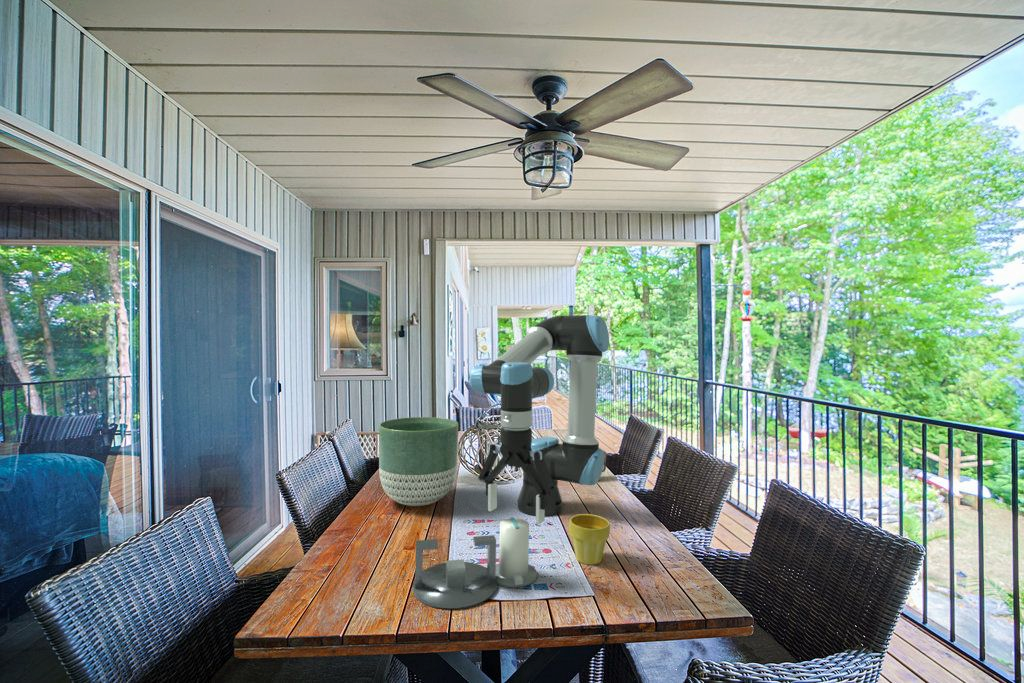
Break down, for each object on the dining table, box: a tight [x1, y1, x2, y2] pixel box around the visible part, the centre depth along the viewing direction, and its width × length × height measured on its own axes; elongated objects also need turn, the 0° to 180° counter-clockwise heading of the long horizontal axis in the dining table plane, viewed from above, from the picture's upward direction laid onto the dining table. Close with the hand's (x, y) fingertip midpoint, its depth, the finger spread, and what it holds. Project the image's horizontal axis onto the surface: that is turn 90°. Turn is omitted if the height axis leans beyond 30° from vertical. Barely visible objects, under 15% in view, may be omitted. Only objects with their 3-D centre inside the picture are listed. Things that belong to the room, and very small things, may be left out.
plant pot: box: [568, 513, 611, 566], centre depth 119 cm, size 10×10×10 cm
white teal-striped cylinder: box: [498, 517, 530, 585], centre depth 110 cm, size 12×7×12 cm, turn 12°
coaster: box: [495, 563, 538, 589], centre depth 110 cm, size 11×11×1 cm
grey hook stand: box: [412, 534, 498, 610], centre depth 105 cm, size 19×19×10 cm
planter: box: [378, 416, 459, 507], centre depth 158 cm, size 27×27×27 cm
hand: (515, 515), depth 110 cm, fingers open, 13 cm apart
